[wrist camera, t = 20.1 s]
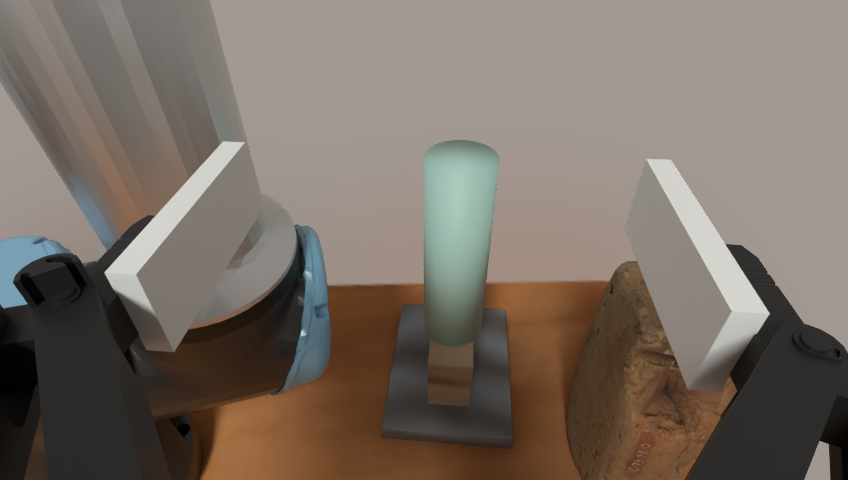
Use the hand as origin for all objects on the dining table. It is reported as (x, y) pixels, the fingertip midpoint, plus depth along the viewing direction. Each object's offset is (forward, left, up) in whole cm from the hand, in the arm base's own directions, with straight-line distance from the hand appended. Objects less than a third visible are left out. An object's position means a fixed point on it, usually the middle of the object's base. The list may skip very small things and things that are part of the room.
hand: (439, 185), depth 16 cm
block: (+14, +12, -34) cm, 39 cm away
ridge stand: (-2, +18, -34) cm, 38 cm away
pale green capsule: (-2, +18, -26) cm, 32 cm away
